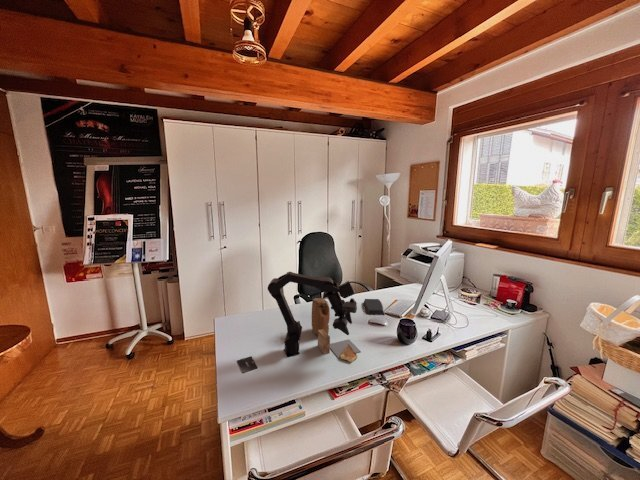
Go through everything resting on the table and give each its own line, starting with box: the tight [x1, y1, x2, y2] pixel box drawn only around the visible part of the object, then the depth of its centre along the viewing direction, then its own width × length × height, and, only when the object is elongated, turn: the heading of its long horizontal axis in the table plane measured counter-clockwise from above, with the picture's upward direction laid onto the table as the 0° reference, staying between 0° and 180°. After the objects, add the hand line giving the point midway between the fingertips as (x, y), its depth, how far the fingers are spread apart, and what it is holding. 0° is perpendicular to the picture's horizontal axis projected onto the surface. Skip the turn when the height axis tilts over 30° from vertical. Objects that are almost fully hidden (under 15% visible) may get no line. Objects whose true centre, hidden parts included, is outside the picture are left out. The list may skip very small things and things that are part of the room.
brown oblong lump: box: [311, 297, 331, 336], centre depth 149 cm, size 11×8×20 cm
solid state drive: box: [236, 355, 259, 374], centre depth 122 cm, size 7×10×1 cm
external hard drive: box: [363, 298, 385, 316], centre depth 182 cm, size 13×19×4 cm
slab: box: [317, 329, 331, 355], centre depth 134 cm, size 3×8×9 cm, turn 24°
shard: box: [340, 344, 358, 363], centre depth 130 cm, size 11×8×2 cm
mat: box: [330, 338, 361, 359], centre depth 136 cm, size 13×12×1 cm
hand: (349, 328), depth 128 cm, fingers open, 9 cm apart
